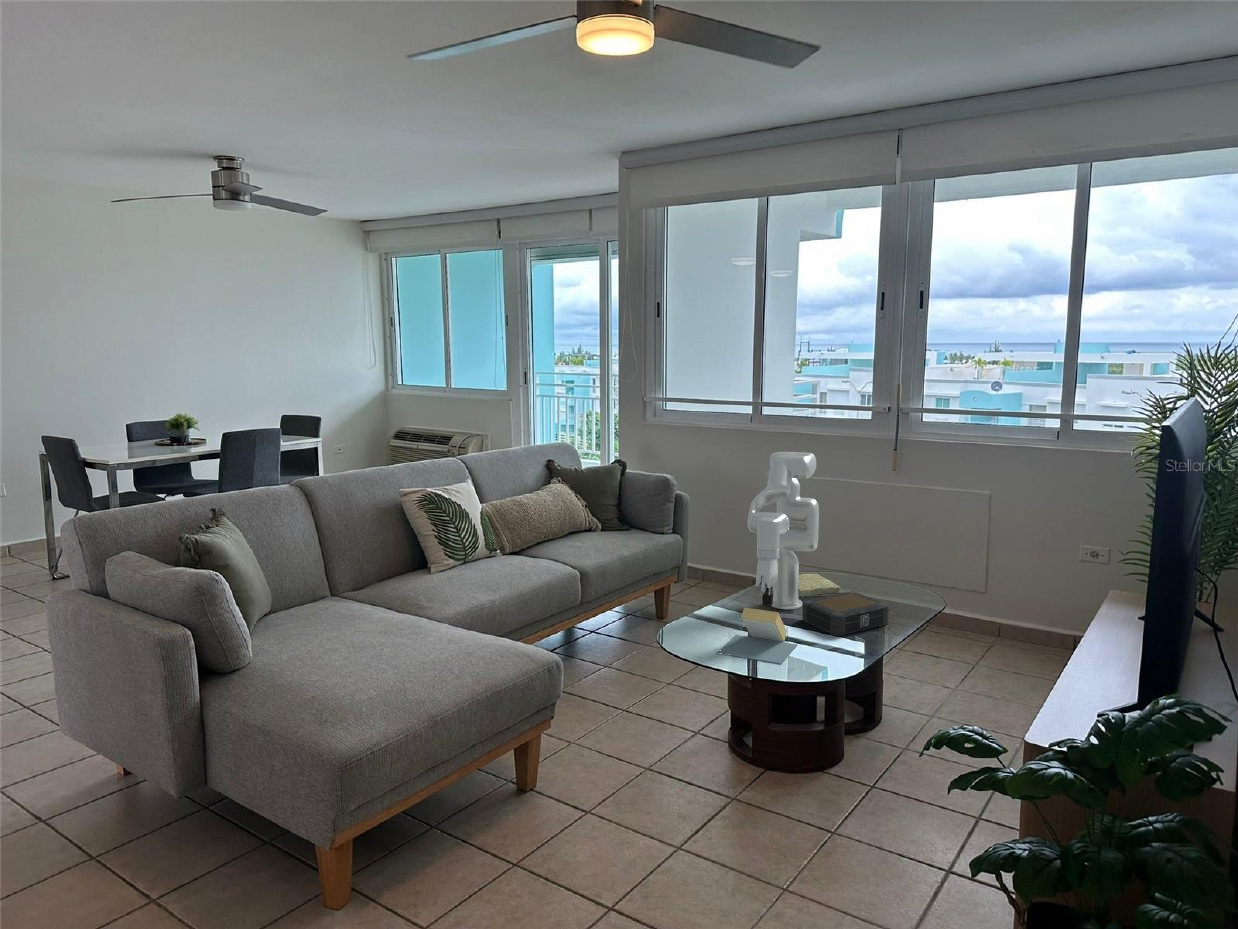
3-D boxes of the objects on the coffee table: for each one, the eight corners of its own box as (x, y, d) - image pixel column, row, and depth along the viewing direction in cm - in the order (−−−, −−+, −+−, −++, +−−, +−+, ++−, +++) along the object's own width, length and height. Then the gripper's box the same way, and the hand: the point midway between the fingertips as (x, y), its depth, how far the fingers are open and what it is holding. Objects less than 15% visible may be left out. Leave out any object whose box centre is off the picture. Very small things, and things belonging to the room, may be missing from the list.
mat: (735, 635, 292) (735, 634, 292) (797, 645, 282) (797, 644, 282) (716, 653, 277) (716, 652, 277) (781, 664, 267) (781, 663, 266)
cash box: (838, 638, 289) (838, 617, 288) (800, 621, 307) (800, 600, 305) (891, 625, 300) (892, 604, 299) (852, 609, 318) (852, 590, 317)
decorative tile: (816, 579, 357) (816, 571, 356) (840, 593, 338) (841, 585, 337) (777, 584, 352) (777, 576, 352) (799, 598, 333) (799, 589, 332)
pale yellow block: (753, 626, 294) (744, 607, 283) (786, 631, 288) (778, 612, 278) (750, 637, 291) (741, 618, 281) (783, 642, 286) (775, 624, 276)
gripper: (764, 547, 292) (764, 597, 295) (750, 557, 279) (750, 610, 282) (785, 549, 289) (784, 600, 291) (771, 559, 276) (771, 613, 278)
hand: (767, 604), depth 287 cm, fingers closed
